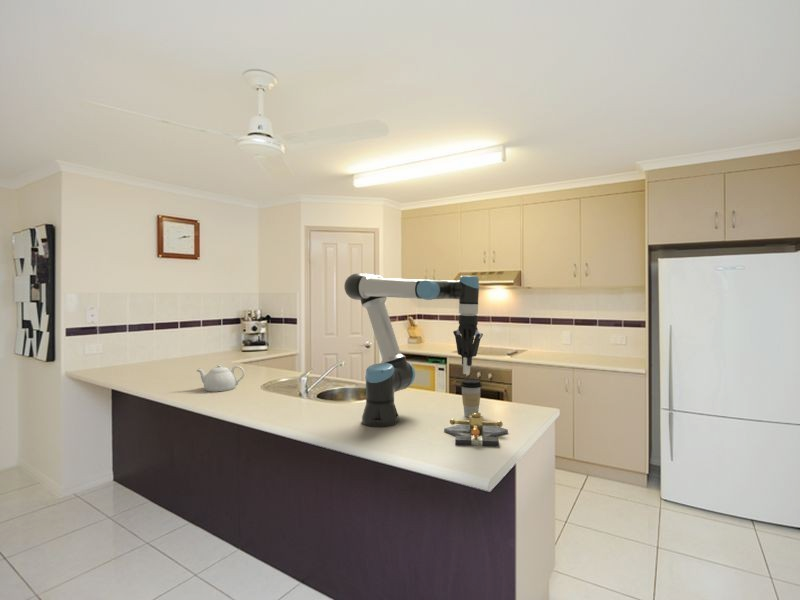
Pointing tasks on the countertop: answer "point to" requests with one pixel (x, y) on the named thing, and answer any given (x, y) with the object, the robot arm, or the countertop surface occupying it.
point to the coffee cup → (470, 395)
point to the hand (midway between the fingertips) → (466, 373)
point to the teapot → (220, 379)
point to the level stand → (483, 439)
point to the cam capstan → (476, 423)
